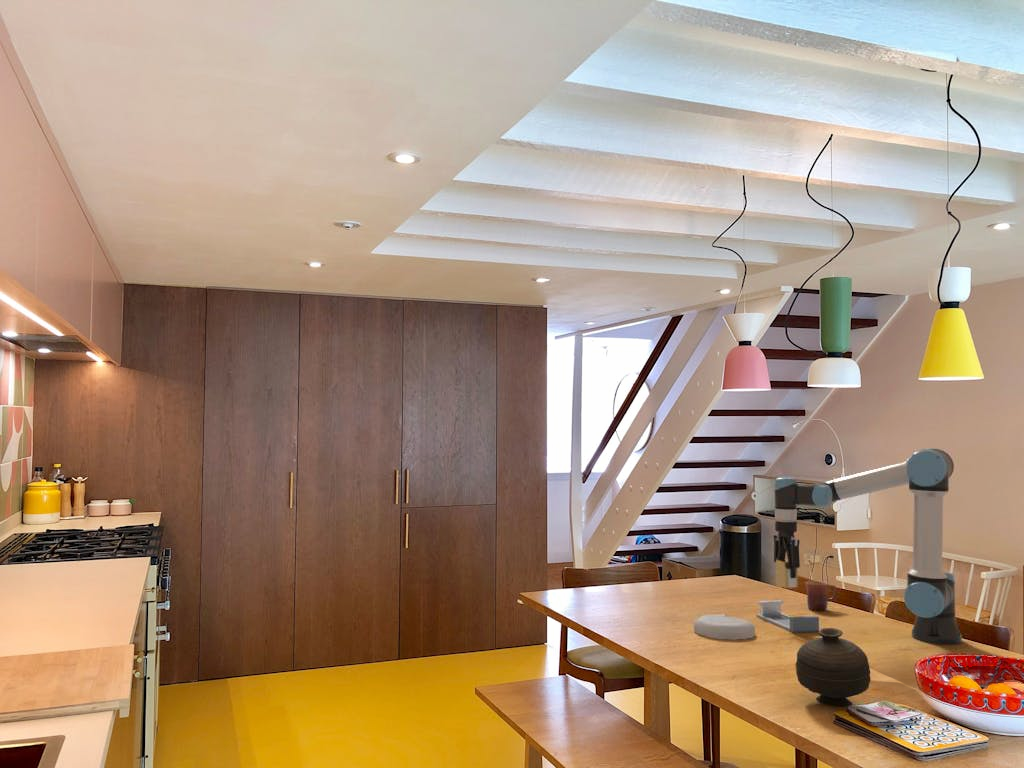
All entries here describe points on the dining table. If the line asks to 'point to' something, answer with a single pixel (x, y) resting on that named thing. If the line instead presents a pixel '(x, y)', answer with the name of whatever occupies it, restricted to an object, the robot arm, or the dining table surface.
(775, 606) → the slide jaw
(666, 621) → the dining table surface
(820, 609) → the mug
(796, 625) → the vise body
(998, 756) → the dining table surface
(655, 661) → the dining table surface
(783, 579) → the brass block
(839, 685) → the pot
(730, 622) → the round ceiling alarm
